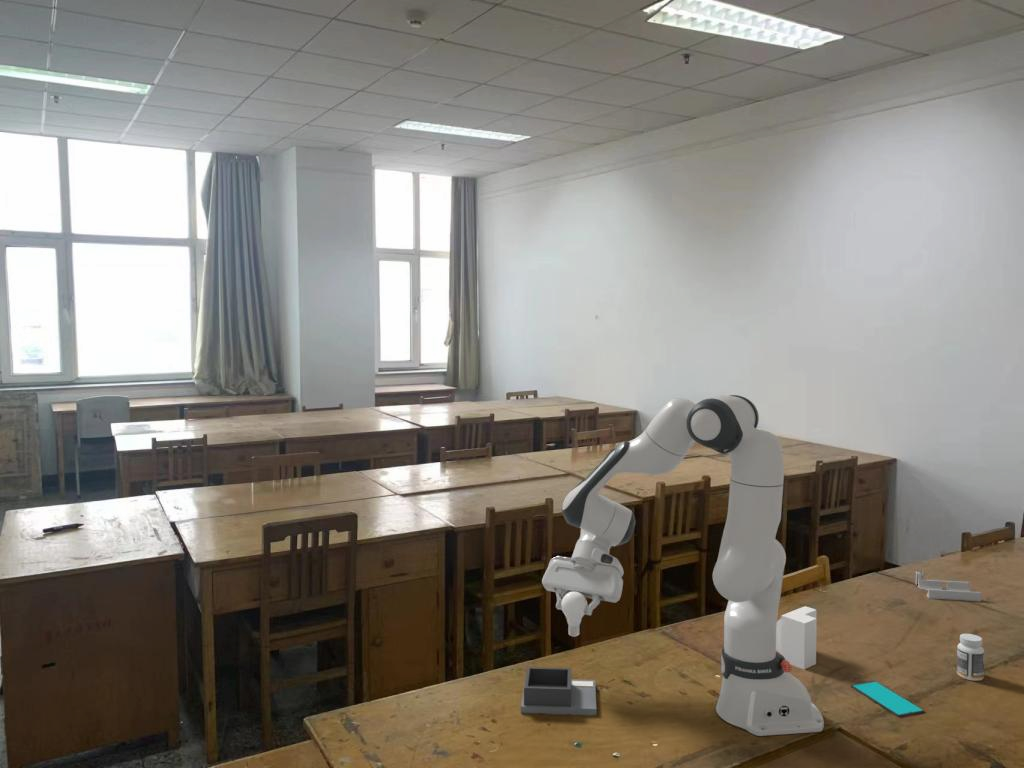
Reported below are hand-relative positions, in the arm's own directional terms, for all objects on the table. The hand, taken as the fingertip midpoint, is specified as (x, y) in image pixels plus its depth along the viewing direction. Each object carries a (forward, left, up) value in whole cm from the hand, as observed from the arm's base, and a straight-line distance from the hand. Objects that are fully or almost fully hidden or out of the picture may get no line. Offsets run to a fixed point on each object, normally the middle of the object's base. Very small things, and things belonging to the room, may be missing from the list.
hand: (573, 611), depth 179 cm
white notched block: (-58, -20, -19) cm, 64 cm away
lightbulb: (0, -1, -7) cm, 7 cm away
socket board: (+3, +7, -18) cm, 20 cm away
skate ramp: (-120, -71, -19) cm, 141 cm away
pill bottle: (-97, -11, -18) cm, 100 cm away
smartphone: (-72, +2, -19) cm, 75 cm away
